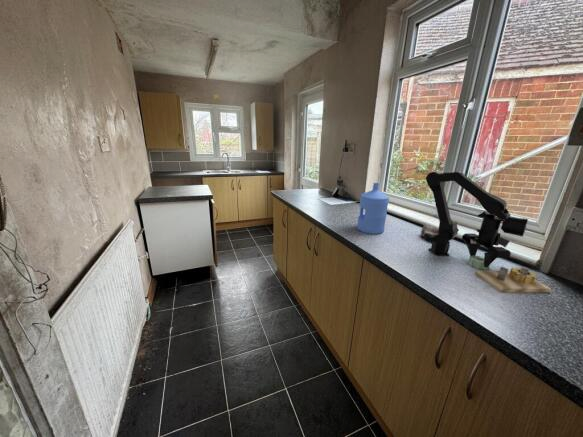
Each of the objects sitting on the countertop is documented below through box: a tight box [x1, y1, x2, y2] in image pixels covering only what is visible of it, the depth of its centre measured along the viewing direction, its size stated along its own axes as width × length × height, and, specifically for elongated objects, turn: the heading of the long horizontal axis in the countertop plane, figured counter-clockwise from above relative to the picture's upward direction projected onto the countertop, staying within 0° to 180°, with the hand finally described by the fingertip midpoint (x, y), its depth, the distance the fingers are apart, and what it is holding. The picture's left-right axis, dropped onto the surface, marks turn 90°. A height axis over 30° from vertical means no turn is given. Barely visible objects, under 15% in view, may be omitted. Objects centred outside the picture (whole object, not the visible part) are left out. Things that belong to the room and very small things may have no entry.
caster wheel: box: [420, 223, 439, 243], centre depth 127 cm, size 7×11×10 cm
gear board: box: [474, 266, 552, 293], centre depth 88 cm, size 18×12×6 cm, turn 91°
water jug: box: [356, 182, 390, 235], centre depth 136 cm, size 16×16×28 cm
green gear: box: [467, 254, 490, 270], centre depth 101 cm, size 7×7×3 cm
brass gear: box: [509, 267, 538, 284], centre depth 88 cm, size 7×7×3 cm
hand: (478, 262), depth 101 cm, fingers closed on green gear, 7 cm apart
